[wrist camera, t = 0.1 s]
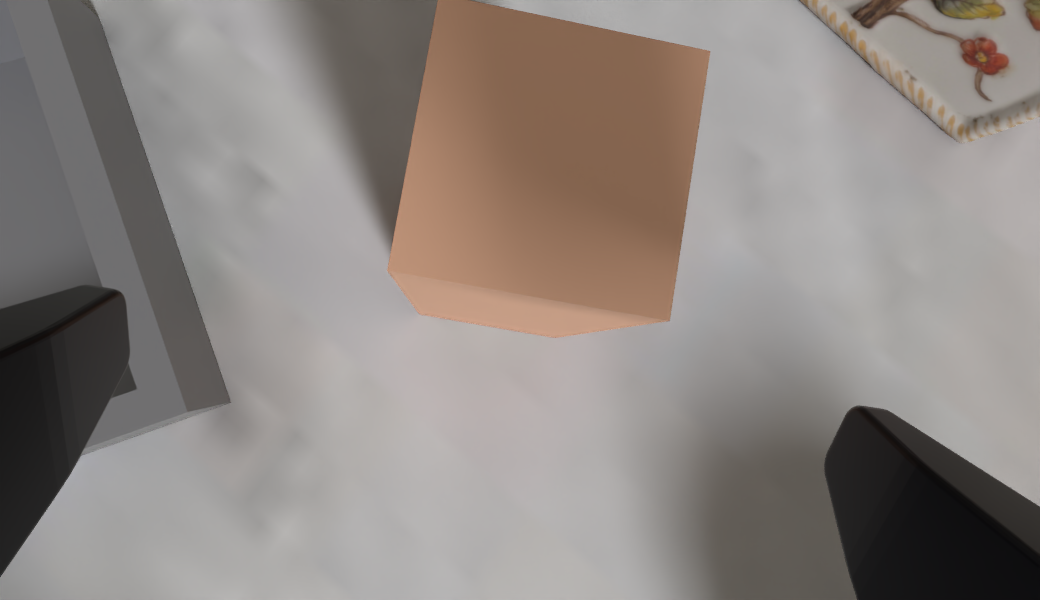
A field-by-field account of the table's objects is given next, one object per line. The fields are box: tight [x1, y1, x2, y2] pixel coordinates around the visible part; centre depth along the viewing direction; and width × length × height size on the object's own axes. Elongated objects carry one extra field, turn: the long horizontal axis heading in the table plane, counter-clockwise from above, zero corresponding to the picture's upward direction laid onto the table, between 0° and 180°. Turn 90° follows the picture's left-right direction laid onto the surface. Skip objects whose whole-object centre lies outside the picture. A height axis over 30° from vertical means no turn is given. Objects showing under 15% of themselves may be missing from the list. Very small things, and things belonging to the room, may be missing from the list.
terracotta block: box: [387, 0, 710, 338], centre depth 18 cm, size 4×4×12 cm
